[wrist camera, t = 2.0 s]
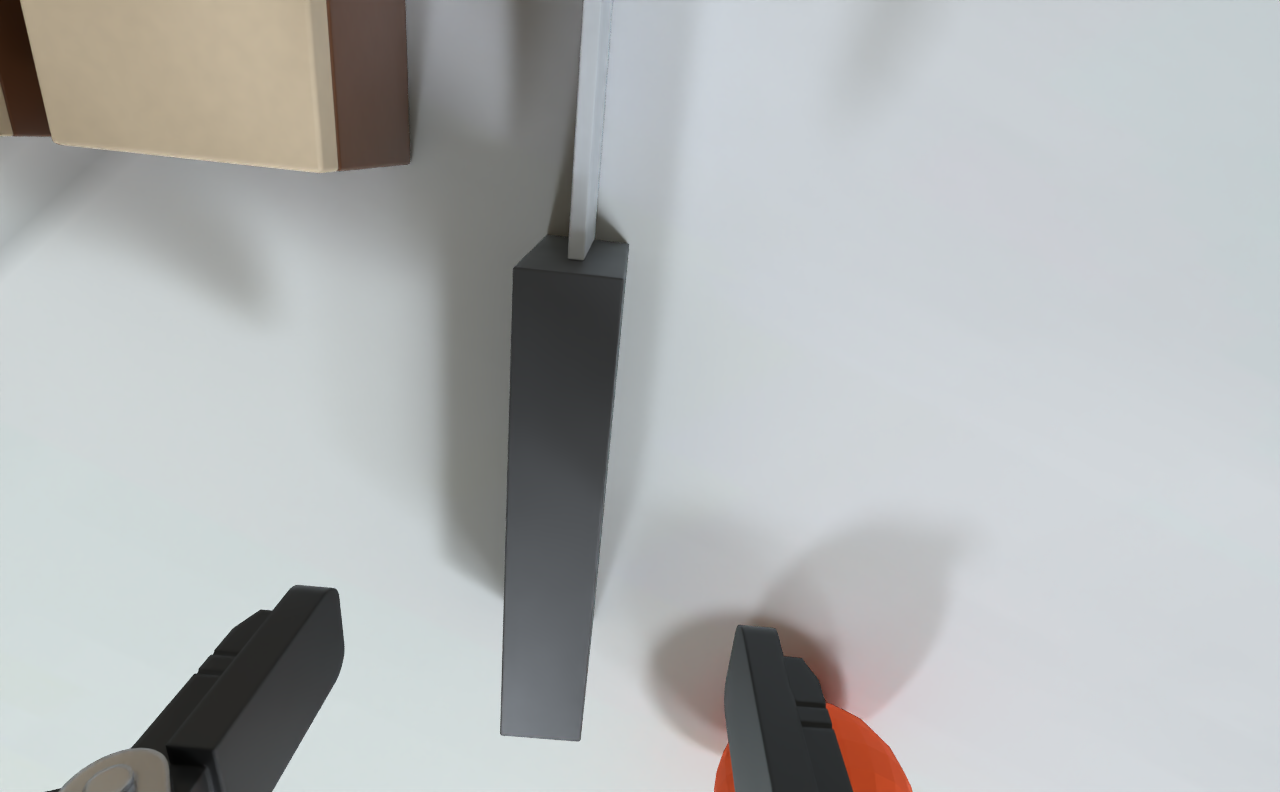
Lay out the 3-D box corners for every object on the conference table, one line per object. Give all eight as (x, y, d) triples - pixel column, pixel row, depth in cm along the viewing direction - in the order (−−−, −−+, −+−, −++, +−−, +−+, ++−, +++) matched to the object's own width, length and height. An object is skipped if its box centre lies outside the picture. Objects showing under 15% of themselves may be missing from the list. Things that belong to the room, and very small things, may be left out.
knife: (592, 623, 23) (580, 742, 19) (528, 617, 23) (499, 736, 19) (666, -145, 15) (677, -274, 10) (564, -157, 15) (528, -295, 10)
